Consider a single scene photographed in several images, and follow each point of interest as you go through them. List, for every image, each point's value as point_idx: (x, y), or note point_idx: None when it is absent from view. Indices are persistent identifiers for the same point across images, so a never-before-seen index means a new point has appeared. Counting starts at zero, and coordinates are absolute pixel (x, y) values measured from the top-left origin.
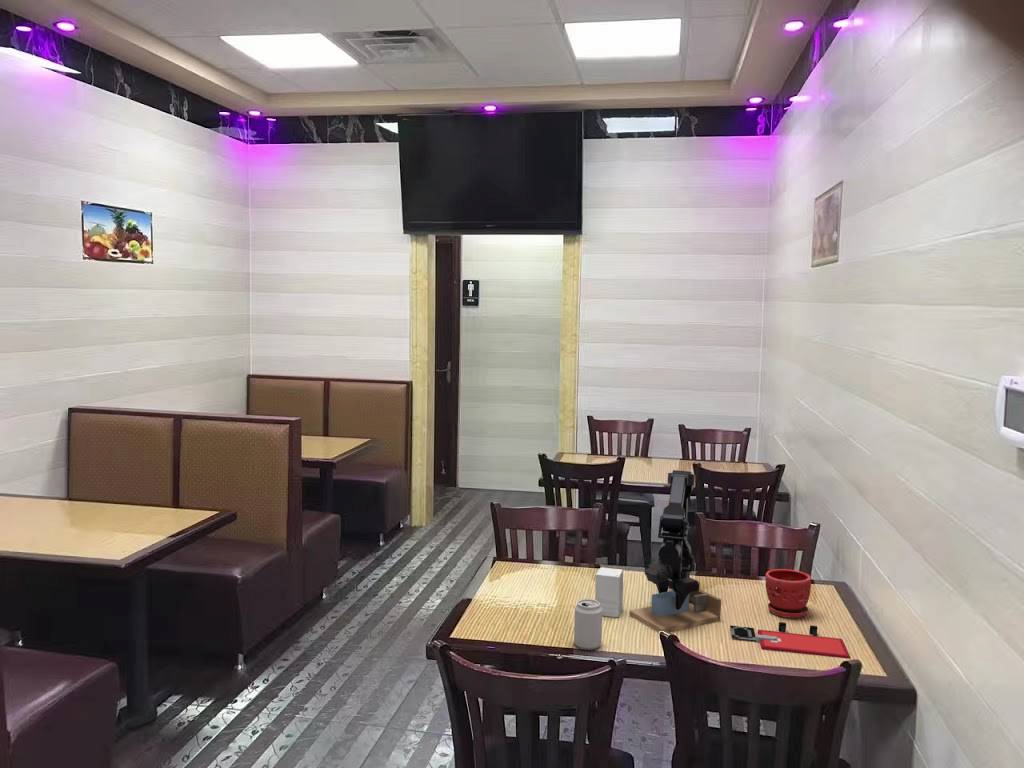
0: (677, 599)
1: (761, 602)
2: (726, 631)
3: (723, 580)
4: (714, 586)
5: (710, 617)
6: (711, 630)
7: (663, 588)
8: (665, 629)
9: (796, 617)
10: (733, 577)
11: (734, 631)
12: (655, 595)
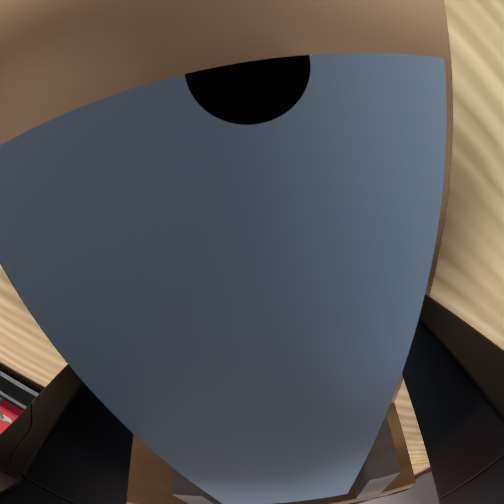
0: (27, 412)
1: None
2: (34, 374)
3: (427, 463)
4: (420, 454)
5: None
6: (29, 339)
7: (456, 437)
8: None
9: None
10: (421, 472)
11: (18, 386)
12: (308, 143)
